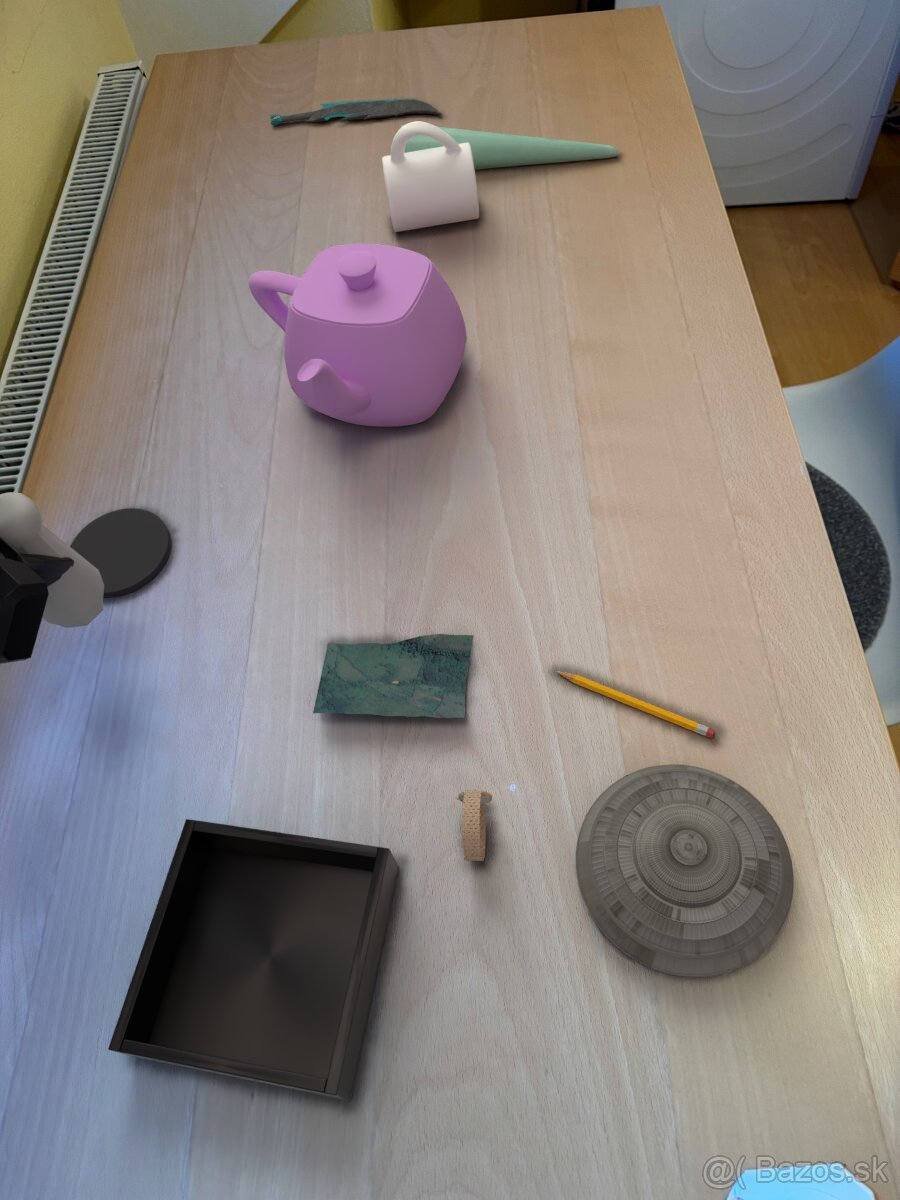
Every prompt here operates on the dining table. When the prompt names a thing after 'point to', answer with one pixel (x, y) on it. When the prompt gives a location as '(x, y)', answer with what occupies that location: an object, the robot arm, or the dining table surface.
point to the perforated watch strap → (474, 823)
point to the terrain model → (397, 677)
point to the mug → (429, 180)
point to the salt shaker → (82, 583)
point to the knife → (361, 110)
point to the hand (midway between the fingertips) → (59, 554)
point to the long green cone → (514, 148)
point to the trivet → (125, 548)
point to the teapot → (367, 333)
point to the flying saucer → (684, 870)
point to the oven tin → (261, 958)
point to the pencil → (639, 704)
